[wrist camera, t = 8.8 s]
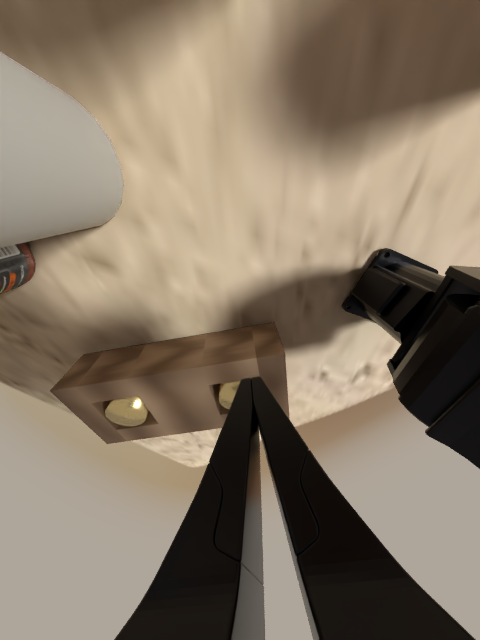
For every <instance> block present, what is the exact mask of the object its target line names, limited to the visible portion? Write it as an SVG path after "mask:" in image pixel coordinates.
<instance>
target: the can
mask: <svg viewBox="0 0 480 640" xmlns="http://www.w3.org/2000/svg"><path fill="white" fill-rule="evenodd" d="M123 186H124V184H123V178H122V172H121V165H120V162H119V159H118V157H117V155H116V152H115V150H114V147H113V145H112V143H111V140H110V139H109V137H108V136H107V134H106V133H105V132H104V130H103V129H102V127H101V126H100V124H99V123H98V121H97V120H96V118H95V117H94V116H93V115H92V114H90V113H89V112H88V111H87V110H86V109H85V108H84V107H83V106H82V105H81V104H80V103H79V102H78V101H77V100H76V99H75V98H73V97H71V96H70V95H68V94H67V93H65V92H64V91H62V90H60V89H59V88H57V87H56V86H54V85H52V84H51V83H49V82H48V81H46V80H44V79H43V78H41V77H40V76H38V75H37V74H35V73H33V72H32V71H30V70H29V69H27V68H25V67H24V66H22V65H21V64H19V63H18V62H16V61H14V60H13V59H11V58H10V57H8V56H6V55H5V54H3V53H2V52H0V248H2V247H6V246H11V245H15V244H20V243H24V242H29V241H33V240H38V239H42V238H47V237H51V236H56V235H60V234H65V233H69V232H74V231H78V230H83V229H87V228H92V227H96V226H100V225H103V224H105V223H106V222H107V221H109V220H110V219H111V218H113V217H114V216H115V214H116V212H117V210H118V208H119V206H120V204H121V202H122V194H123Z"/></svg>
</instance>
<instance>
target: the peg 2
mask: <svg viewBox="0 0 480 640" xmlns="http://www.w3.org/2000/svg"><path fill="white" fill-rule="evenodd" d="M240 381H241V380H239V381H232V382H226V383H220V386H219V402H220V404H221V405H222V406H223V407H225V408H226V409H230V407H231V404H232V401H233V399H234V396H235V394H236V391H237V389H238V386H239V383H240Z"/></svg>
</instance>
